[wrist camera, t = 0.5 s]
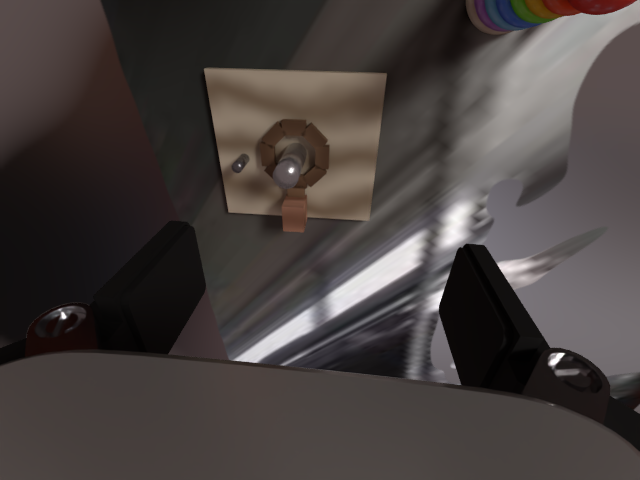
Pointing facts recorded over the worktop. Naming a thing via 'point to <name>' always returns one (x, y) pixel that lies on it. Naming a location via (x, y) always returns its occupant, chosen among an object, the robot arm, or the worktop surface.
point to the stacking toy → (532, 12)
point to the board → (305, 104)
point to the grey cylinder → (281, 165)
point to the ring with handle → (295, 197)
